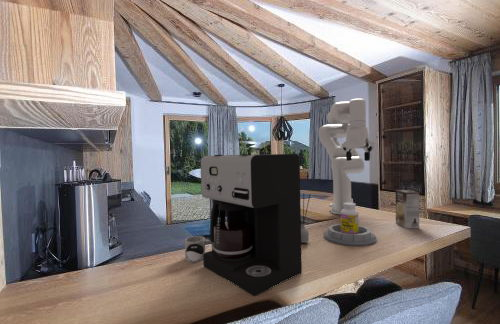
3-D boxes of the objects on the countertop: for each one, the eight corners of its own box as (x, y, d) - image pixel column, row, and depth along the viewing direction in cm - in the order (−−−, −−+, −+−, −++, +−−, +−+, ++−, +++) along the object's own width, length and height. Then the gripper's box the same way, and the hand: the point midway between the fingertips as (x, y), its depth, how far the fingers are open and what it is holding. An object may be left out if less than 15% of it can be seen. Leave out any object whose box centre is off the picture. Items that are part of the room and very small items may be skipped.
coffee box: (394, 223, 128) (394, 189, 127) (408, 222, 127) (408, 189, 127) (405, 228, 118) (405, 192, 118) (420, 228, 118) (420, 192, 118)
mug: (184, 263, 86) (184, 243, 86) (185, 255, 93) (185, 237, 93) (215, 260, 88) (215, 240, 88) (214, 253, 95) (214, 234, 95)
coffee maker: (195, 263, 86) (191, 155, 85) (241, 248, 99) (239, 154, 98) (252, 297, 65) (248, 154, 64) (302, 272, 78) (300, 152, 77)
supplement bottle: (338, 235, 108) (337, 203, 108) (345, 231, 113) (345, 201, 112) (354, 238, 103) (354, 205, 103) (361, 234, 108) (360, 203, 108)
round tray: (313, 236, 111) (313, 227, 111) (343, 227, 122) (343, 220, 122) (356, 250, 94) (356, 240, 94) (386, 238, 105) (386, 229, 105)
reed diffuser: (315, 244, 101) (315, 191, 101) (303, 248, 97) (302, 193, 97) (295, 237, 110) (295, 189, 109) (283, 241, 105) (282, 191, 105)
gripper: (337, 126, 134) (337, 160, 134) (369, 122, 119) (370, 161, 120) (346, 127, 138) (347, 160, 138) (378, 123, 124) (379, 160, 124)
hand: (357, 160), depth 129 cm, fingers open, 9 cm apart
